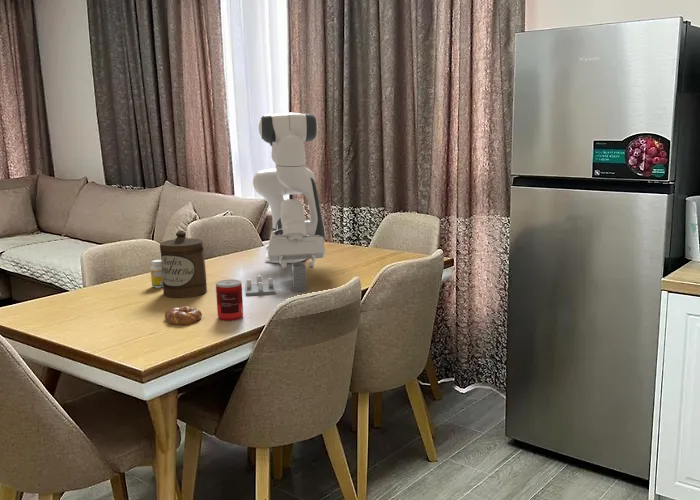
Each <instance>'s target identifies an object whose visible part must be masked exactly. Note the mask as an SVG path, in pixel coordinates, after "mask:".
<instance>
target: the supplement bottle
mask: <svg viewBox="0 0 700 500" xmlns="http://www.w3.org/2000/svg"><path fill="white" fill-rule="evenodd" d="M151 265H152V266H151V267H150V278H151V280H150V281H151V287H152V288H153V287H155V288H154V289H162V288H161V287H163V281H162V263H161V259H154V260H152V261H151Z"/></svg>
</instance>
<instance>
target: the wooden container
mask: <svg viewBox="0 0 700 500" xmlns="http://www.w3.org/2000/svg"><path fill="white" fill-rule="evenodd" d="M175 236H176V237H175V239H170V240H165V241H161V242H160V243H159V250H160V260H161V263H162V281H163V288H162V291H163V296H165V297H167V298H172V297H173V298H174V299H179V298H180V299H181V298H182V299H184V297H186V298H192V297H197V296H202V295H204V294H206V293H207V292H208V286H207V271H206V261H205V251H204V240H202V239H200V238H192V237H191V238H190V237H189V238H188V237H187V232H186V231H184V230H178V231H176V232H175Z"/></svg>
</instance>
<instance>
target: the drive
mask: <svg viewBox="0 0 700 500" xmlns="http://www.w3.org/2000/svg"><path fill="white" fill-rule="evenodd" d="M291 274H292V275H291V276H292V277H291V279H292V290H293V291H294V292H293V293H307V281H306V277H307V276H306V266H305V264H304V262H303V261H301V262H296V263H291Z"/></svg>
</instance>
